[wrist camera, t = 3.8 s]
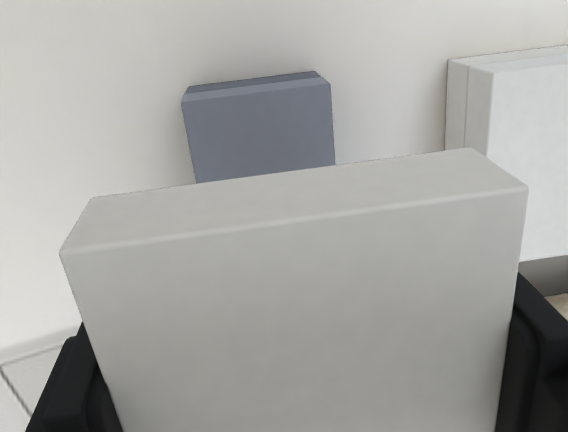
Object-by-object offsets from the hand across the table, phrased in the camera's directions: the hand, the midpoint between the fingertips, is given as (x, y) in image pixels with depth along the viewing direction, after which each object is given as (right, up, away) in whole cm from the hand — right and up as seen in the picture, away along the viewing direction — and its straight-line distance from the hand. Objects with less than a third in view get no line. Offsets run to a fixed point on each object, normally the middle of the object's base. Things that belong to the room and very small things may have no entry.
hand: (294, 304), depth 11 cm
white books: (+10, +5, +10) cm, 15 cm away
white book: (0, -1, -1) cm, 1 cm away
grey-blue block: (-1, +4, +9) cm, 10 cm away
